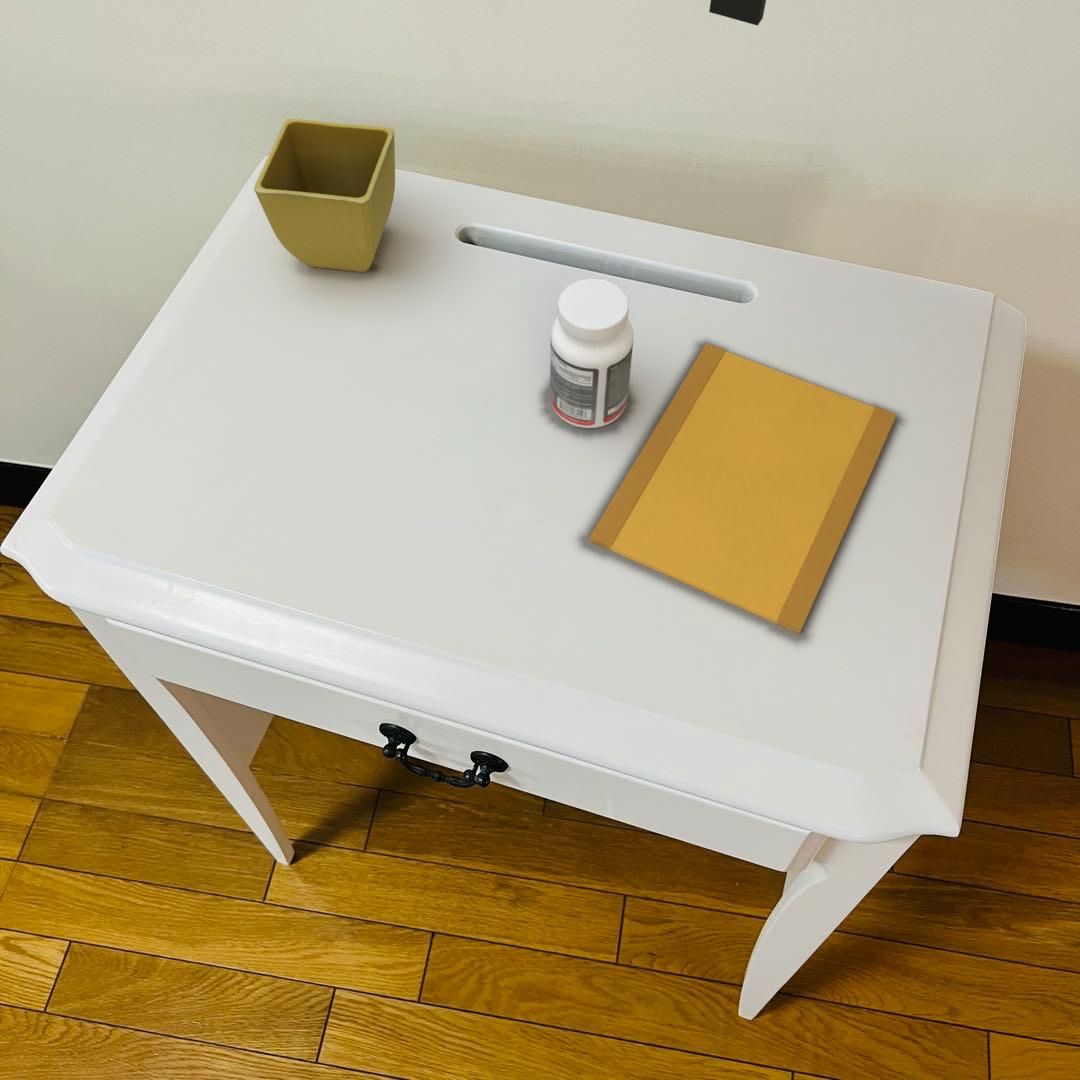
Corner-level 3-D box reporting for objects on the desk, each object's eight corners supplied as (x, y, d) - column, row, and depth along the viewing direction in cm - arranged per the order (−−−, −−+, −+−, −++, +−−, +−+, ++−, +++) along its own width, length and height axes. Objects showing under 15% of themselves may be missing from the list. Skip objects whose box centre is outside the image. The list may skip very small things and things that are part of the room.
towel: (894, 419, 76) (897, 414, 76) (799, 634, 67) (801, 629, 66) (705, 348, 80) (706, 342, 80) (589, 541, 70) (589, 536, 70)
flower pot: (276, 281, 84) (250, 188, 76) (306, 209, 88) (285, 115, 81) (383, 293, 83) (367, 201, 76) (408, 220, 88) (395, 127, 80)
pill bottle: (611, 364, 79) (620, 264, 71) (638, 420, 76) (651, 322, 68) (539, 382, 78) (539, 283, 70) (564, 439, 75) (567, 342, 67)
